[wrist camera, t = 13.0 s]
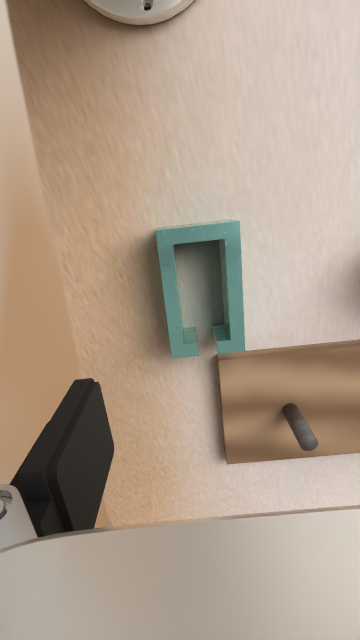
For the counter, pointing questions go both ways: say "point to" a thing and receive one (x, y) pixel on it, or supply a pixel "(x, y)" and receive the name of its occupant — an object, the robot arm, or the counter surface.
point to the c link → (232, 330)
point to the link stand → (290, 402)
